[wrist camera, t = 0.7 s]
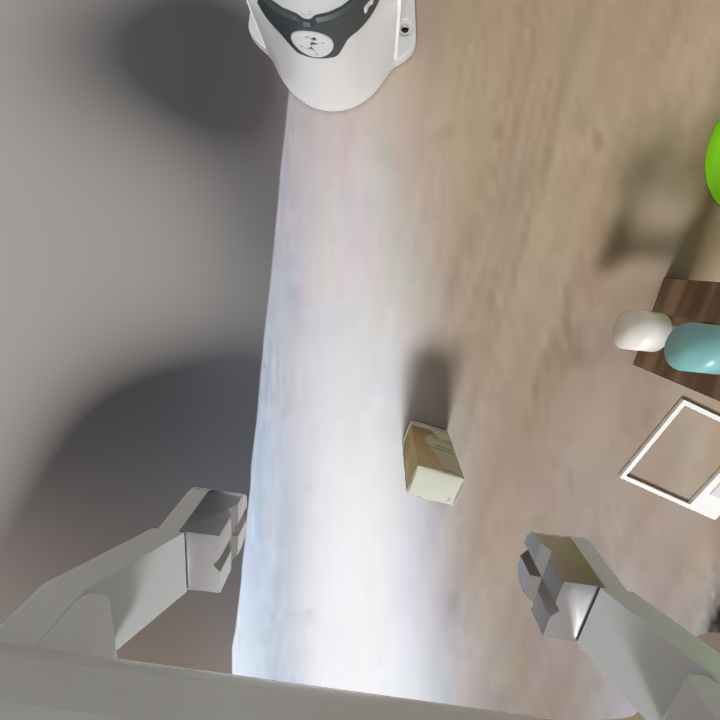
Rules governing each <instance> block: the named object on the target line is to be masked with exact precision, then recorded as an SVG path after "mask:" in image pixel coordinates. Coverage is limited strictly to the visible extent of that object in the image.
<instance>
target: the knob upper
mask: <svg viewBox="0 0 720 720" xmlns="http://www.w3.org/2000/svg"><path fill="white" fill-rule="evenodd" d="M664 355H665V358H666V361H667V362H668V364H669V365H670V366H671V367H673V368H674V369H676V370H680V371H688V372H698V373H707V374H718V375H719V374H720V325H712V324H703V323H694V322H689V323H684V324H681V325H679V326H677V327H676V328H675V329H674V330H673V331H672V332H671V333H670V334H669V336H668V337H667V339H666V342H665V346H664Z"/></svg>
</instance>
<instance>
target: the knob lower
mask: <svg viewBox="0 0 720 720" xmlns="http://www.w3.org/2000/svg"><path fill="white" fill-rule="evenodd" d="M675 328H676V326H672V323H671V320H670V318H669V317H668V316H667V315H666V314H664V313H659V312H649V311H640V310H627V311H625V312H623V313H622V314H621V315H620V316H619V317H618V318H617V320H616V322H615V324H614V327H613V340H614V343H615V344H616V346H617V347H619V348H621V349H628V350H637V351H646V352H655V351H658V350H660V349H662V348H663V347H664V346H665V342H666V339H667V337H668V336H669V334H670V333H671V332H672V331H673V330H674V329H675Z"/></svg>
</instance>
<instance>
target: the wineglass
mask: <svg viewBox="0 0 720 720" xmlns="http://www.w3.org/2000/svg"><path fill="white" fill-rule="evenodd" d="M705 173H706V181H707V186H708V188H709V190H710V192H711V194H712V196H713V198H714V200H715V201H716V202H717V203H718V204H719V205H720V119H719V121H718V123H717V124H716V126H715V128H714V130H713V133H712V136H711V138H710V141H709V144H708V147H707V153H706V160H705Z"/></svg>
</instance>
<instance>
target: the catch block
mask: <svg viewBox="0 0 720 720" xmlns="http://www.w3.org/2000/svg"><path fill="white" fill-rule="evenodd" d="M653 312H659V313H664V314H666V315H667V316H668V317H669V318H670V320H671V323H672V326H676V327H677V326H679V325H681V324H684V323H689V322H694V323H703V324H712V325H720V282H707V281H694V280H681V279H668V278H664V281H663V284H662V287H661V289H660V292H659V295H658V298H657V300H656V303H655V306H654V309H653ZM634 365H635V366H638V367H640V368H642V369H645V370H647V371H650V372H652V373H654V374H657V375H659V376H661V377H664V378H666V379H668V380H671V381H673V382H676V383H678V384H680V385H683V386H685V387H687V388H690V389H692V390H694V391H697V392H699V393H702V394H704V395H706V396H709V397H711V398H713V399H716V400H718V401H720V374H719V375H718V374H707V373H698V372H688V371H680V370H676V369H674V368H673V367H671V366H670V365H669V364H668V362H667V361H666V358H665V355H664V347H663V348H662V349H660V350H658V351H655V352H646V351H638V353H637V356H636V359H635V362H634Z"/></svg>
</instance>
